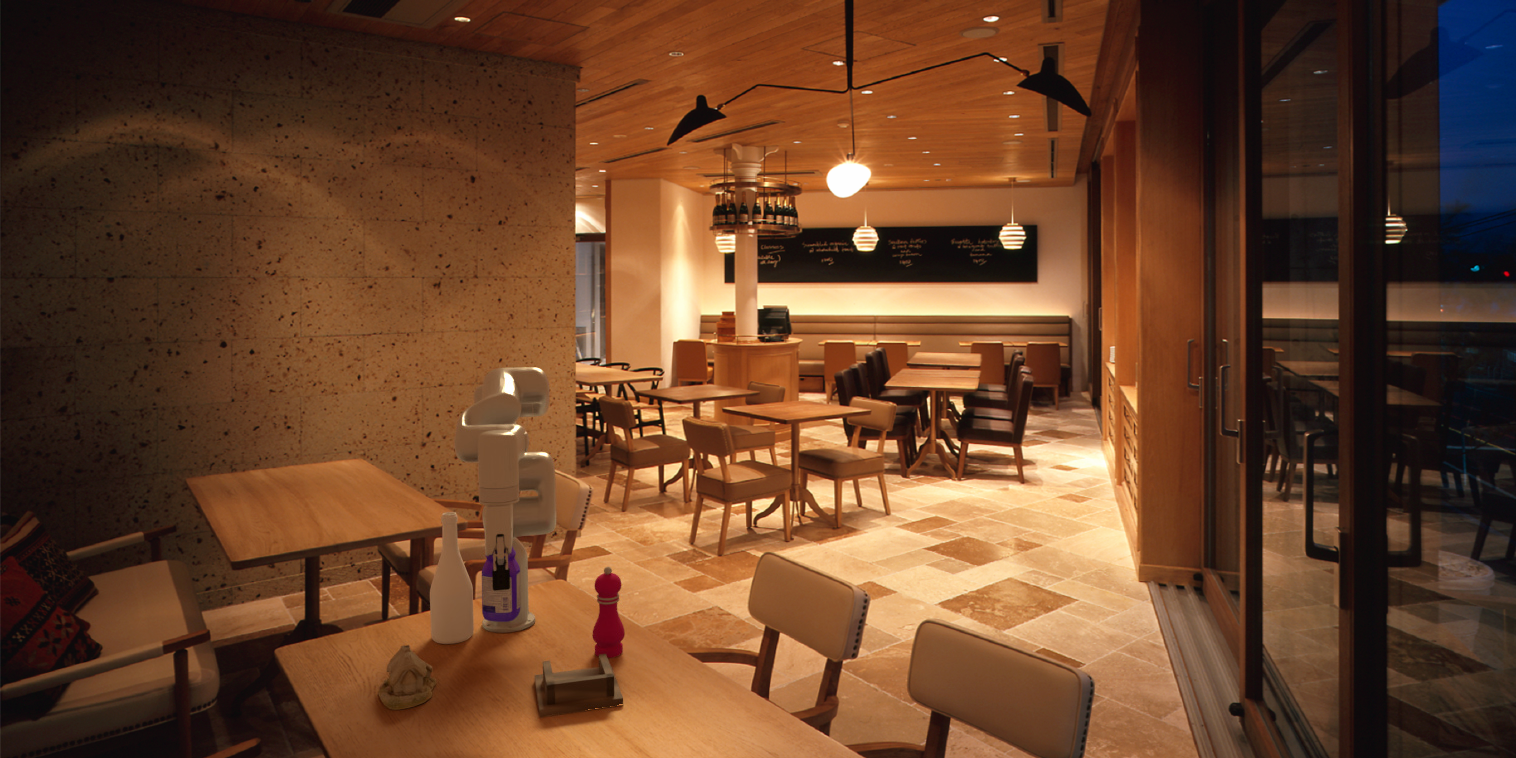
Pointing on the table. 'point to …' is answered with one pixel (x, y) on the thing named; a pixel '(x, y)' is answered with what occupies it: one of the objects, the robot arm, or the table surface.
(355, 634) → the table surface
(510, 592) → the bottle
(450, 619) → the wine bottle
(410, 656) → the ceramic model
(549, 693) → the bottle rest
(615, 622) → the pepper mill
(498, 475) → the robot arm
